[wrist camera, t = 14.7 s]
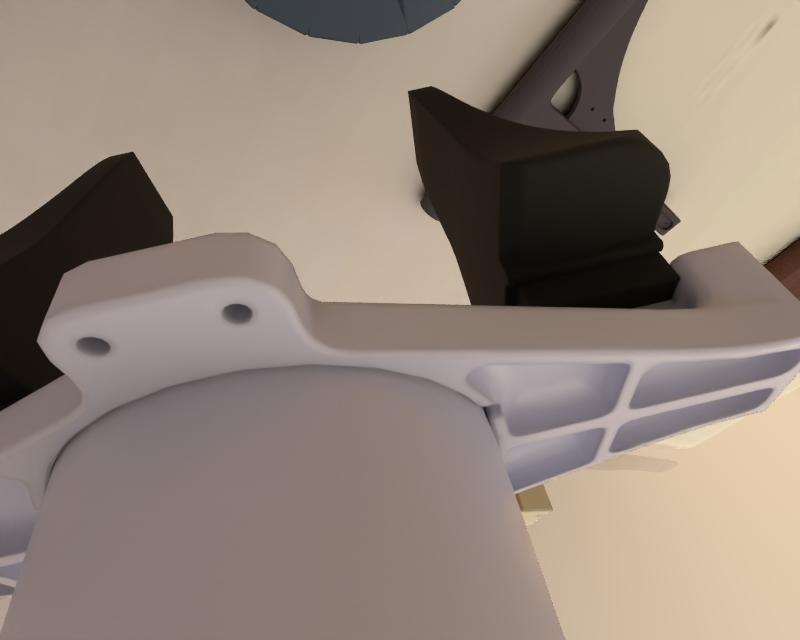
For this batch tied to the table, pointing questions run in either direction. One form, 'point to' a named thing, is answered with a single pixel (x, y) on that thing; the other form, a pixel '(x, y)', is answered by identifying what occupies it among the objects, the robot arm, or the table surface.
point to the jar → (354, 17)
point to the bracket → (597, 72)
